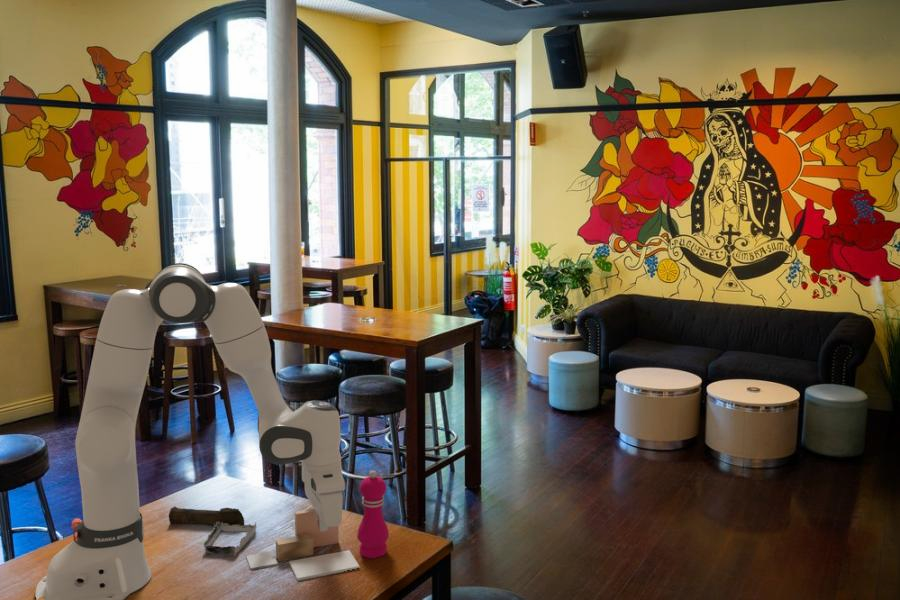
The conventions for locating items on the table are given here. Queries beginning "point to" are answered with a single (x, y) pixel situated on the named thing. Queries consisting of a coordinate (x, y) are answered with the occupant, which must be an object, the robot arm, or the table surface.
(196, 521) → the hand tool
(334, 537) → the tile
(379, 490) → the pepper mill
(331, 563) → the pad
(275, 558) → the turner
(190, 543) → the table surface
